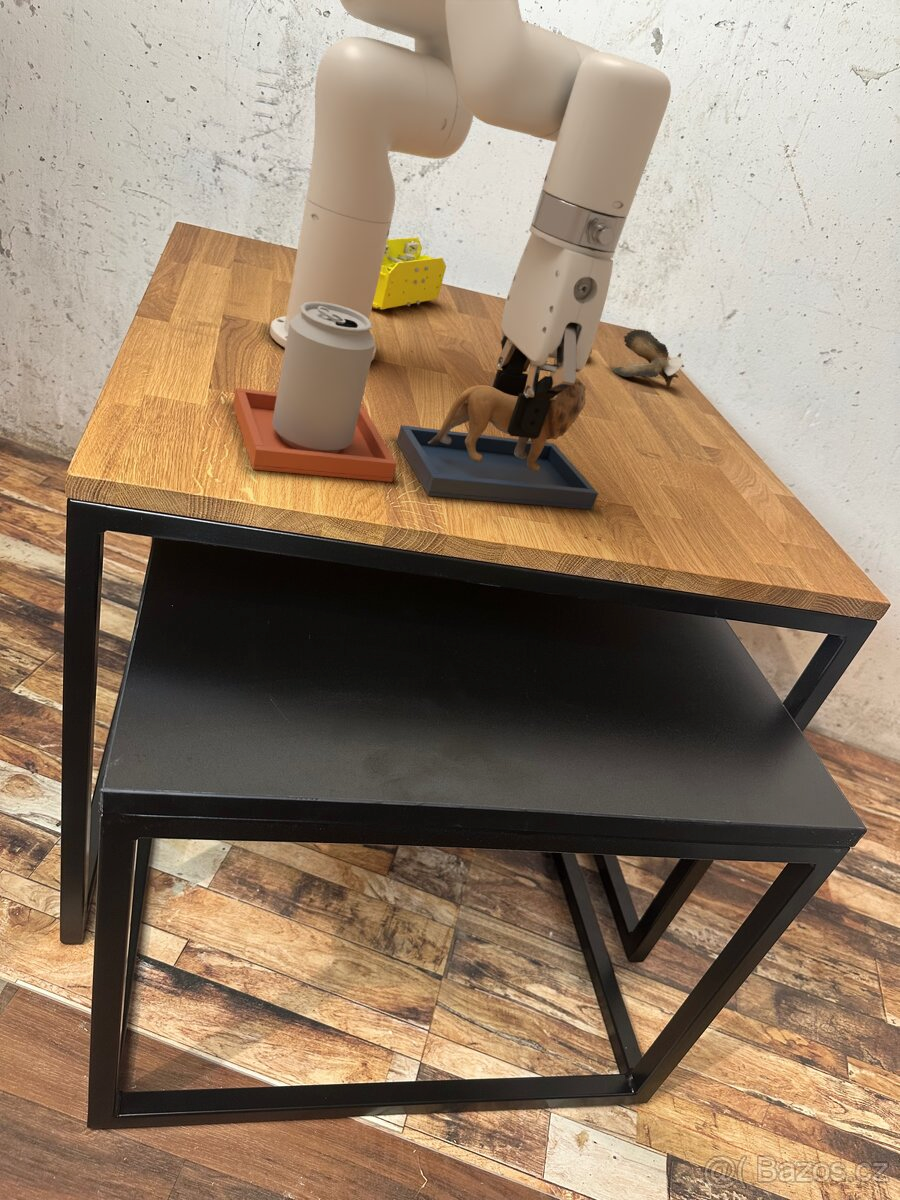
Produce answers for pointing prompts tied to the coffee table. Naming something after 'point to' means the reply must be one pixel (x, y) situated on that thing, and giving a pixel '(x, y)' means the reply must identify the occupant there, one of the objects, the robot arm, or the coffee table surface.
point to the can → (323, 377)
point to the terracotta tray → (274, 454)
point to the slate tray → (494, 471)
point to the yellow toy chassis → (407, 275)
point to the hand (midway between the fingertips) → (512, 421)
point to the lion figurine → (509, 418)
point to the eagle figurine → (650, 357)
